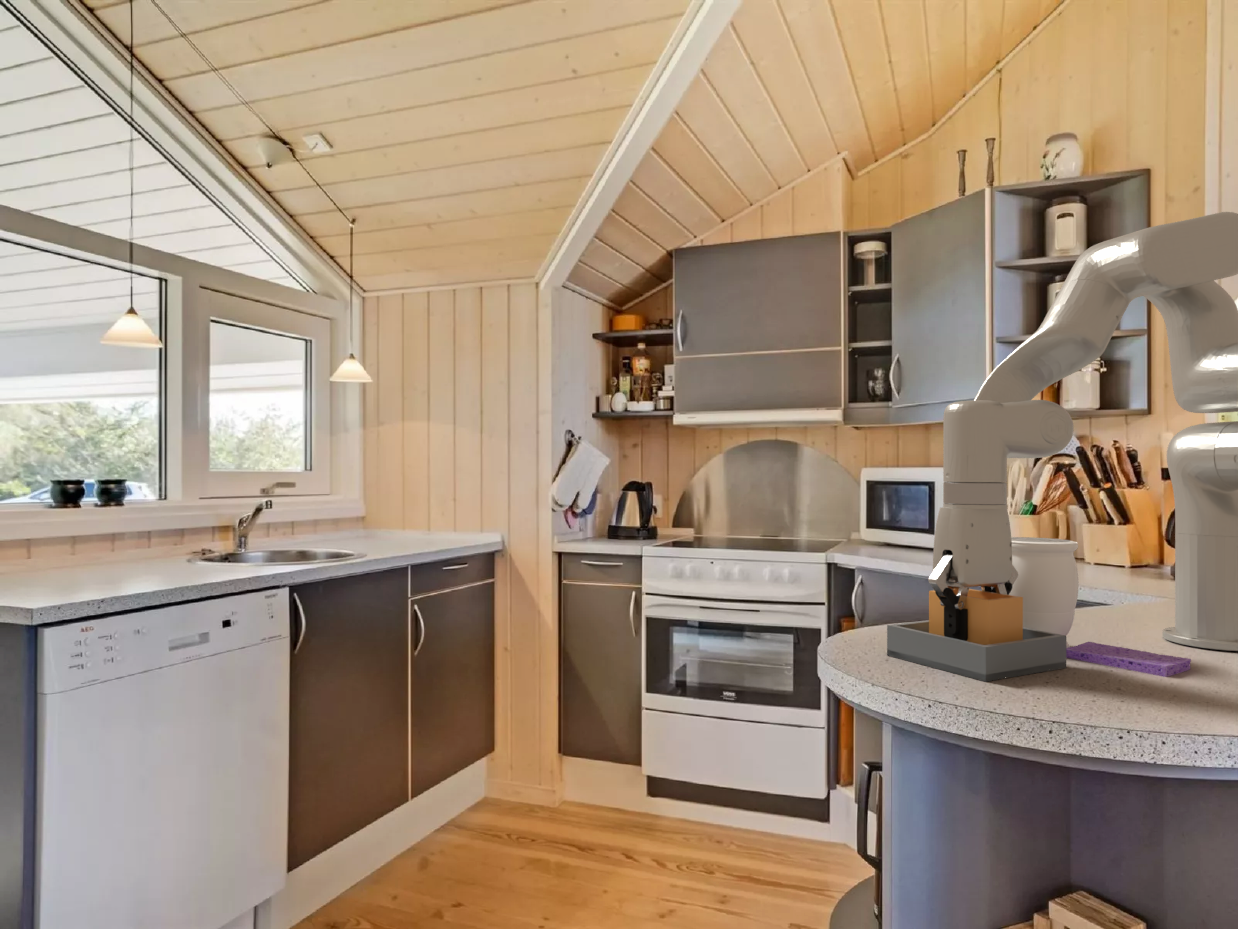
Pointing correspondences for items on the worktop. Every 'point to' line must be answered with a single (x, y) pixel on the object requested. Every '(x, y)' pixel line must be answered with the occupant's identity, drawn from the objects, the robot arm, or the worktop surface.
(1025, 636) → the grey square tray
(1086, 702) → the worktop surface
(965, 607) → the small crate
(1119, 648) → the sponges
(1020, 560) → the jar
